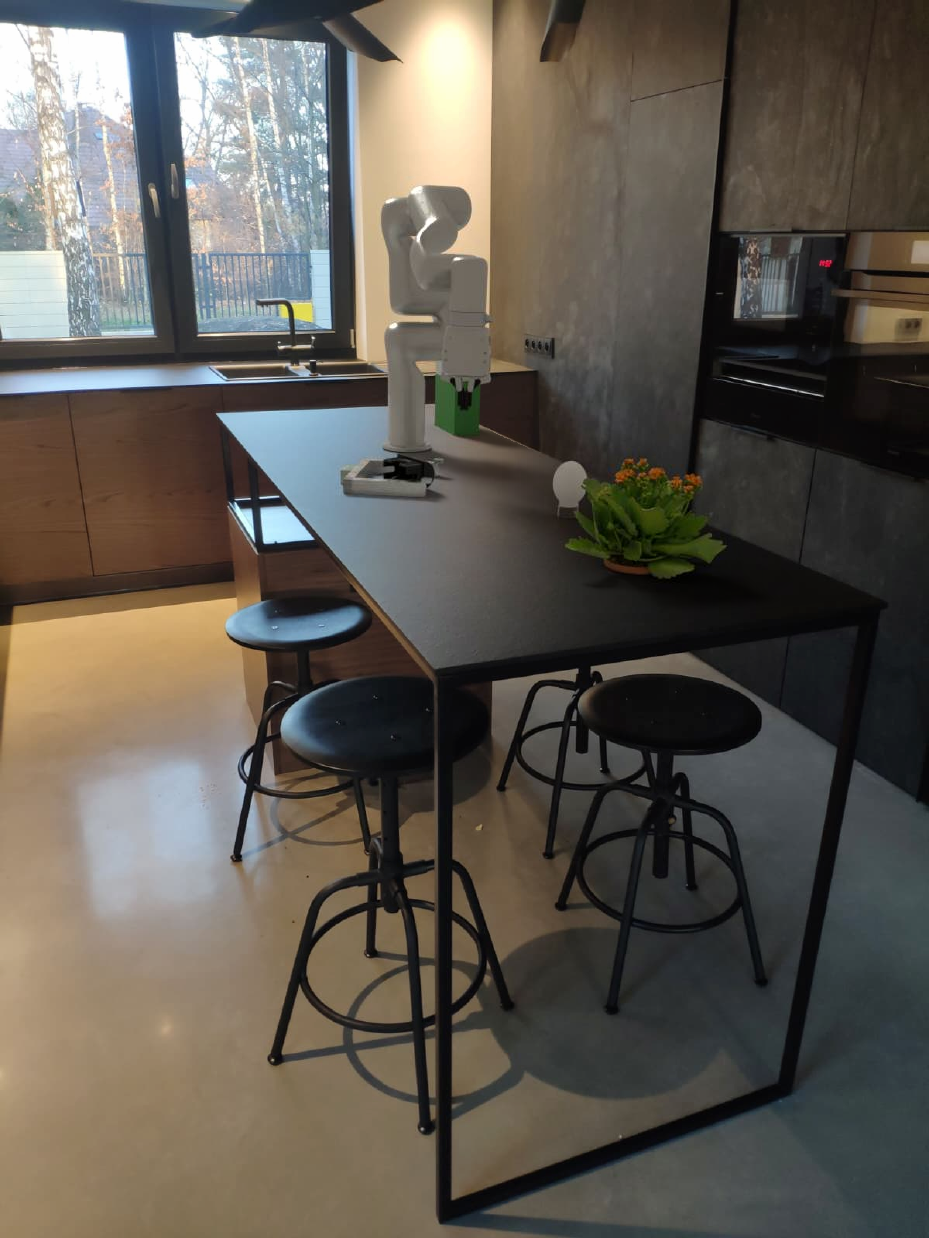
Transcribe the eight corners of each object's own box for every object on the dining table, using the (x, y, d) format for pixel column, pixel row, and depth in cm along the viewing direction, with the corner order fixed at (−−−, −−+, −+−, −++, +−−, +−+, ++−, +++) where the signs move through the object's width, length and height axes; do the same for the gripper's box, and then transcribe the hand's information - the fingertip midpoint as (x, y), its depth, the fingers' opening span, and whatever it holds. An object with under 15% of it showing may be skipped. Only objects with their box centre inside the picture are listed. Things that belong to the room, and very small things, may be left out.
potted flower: (586, 594, 145) (595, 482, 139) (533, 549, 166) (539, 450, 160) (730, 583, 152) (745, 476, 145) (661, 541, 173) (672, 446, 167)
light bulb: (557, 521, 184) (561, 465, 180) (546, 512, 190) (549, 458, 186) (590, 519, 185) (594, 464, 181) (577, 511, 191) (581, 457, 187)
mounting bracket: (353, 470, 220) (353, 454, 219) (443, 474, 219) (443, 458, 217) (331, 492, 200) (331, 474, 199) (430, 497, 198) (430, 480, 197)
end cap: (435, 491, 204) (435, 460, 202) (408, 495, 200) (408, 463, 198) (408, 482, 212) (408, 452, 209) (382, 485, 208) (381, 455, 205)
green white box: (434, 425, 280) (436, 341, 272) (458, 424, 283) (460, 341, 274) (454, 436, 265) (456, 347, 256) (478, 435, 267) (481, 347, 259)
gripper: (504, 320, 198) (500, 408, 205) (434, 317, 199) (432, 405, 206) (502, 323, 191) (498, 414, 198) (429, 320, 192) (427, 411, 199)
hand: (464, 409), depth 202 cm, fingers closed
